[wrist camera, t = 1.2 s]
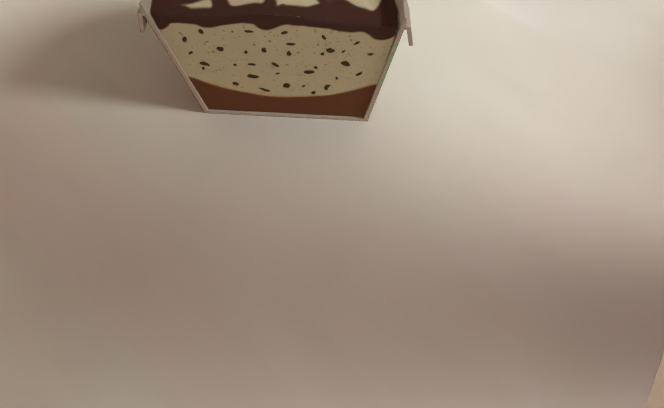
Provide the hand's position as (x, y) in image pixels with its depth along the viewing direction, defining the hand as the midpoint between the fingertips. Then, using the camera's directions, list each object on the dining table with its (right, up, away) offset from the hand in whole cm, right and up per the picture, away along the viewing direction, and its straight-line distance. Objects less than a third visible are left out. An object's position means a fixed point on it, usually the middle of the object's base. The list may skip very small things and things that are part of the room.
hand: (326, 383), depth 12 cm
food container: (-2, +11, +25) cm, 27 cm away
